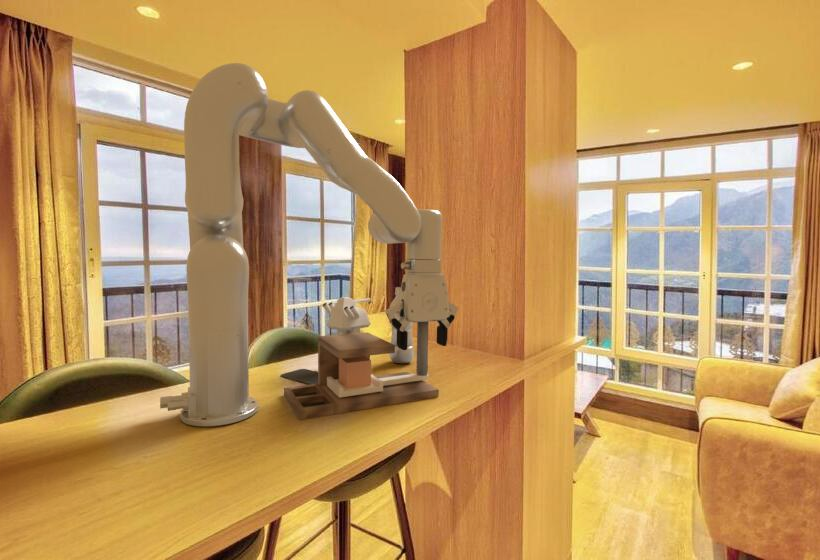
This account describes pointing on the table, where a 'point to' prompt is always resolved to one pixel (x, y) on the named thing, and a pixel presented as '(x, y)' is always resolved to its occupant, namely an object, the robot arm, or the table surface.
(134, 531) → the table surface
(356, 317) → the white mech figurine
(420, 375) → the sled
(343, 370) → the block
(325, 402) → the desk organizer
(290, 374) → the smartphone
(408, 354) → the plastic bottle
